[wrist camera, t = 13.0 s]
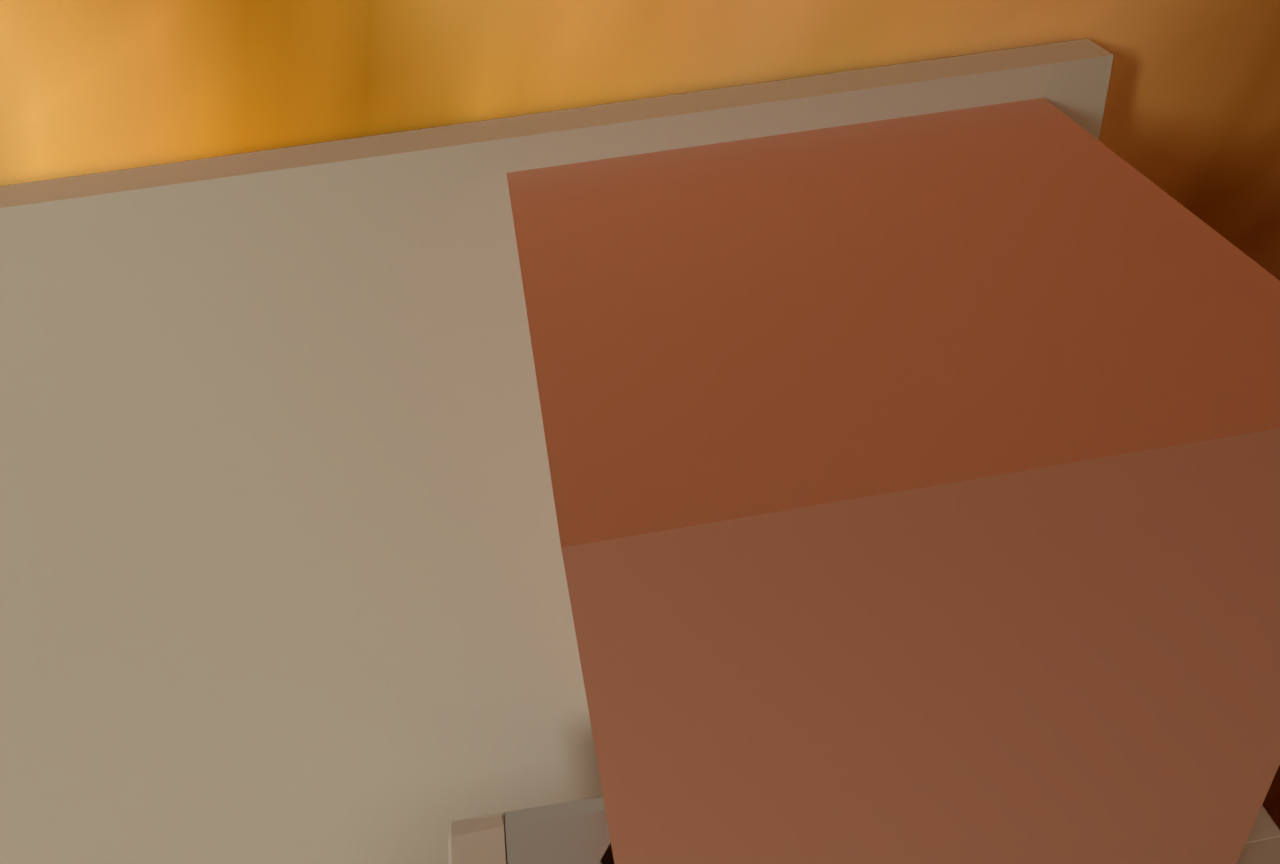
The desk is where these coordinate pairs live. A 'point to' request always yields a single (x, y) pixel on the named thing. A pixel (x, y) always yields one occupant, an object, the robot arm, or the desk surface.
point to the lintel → (911, 496)
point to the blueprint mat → (321, 479)
